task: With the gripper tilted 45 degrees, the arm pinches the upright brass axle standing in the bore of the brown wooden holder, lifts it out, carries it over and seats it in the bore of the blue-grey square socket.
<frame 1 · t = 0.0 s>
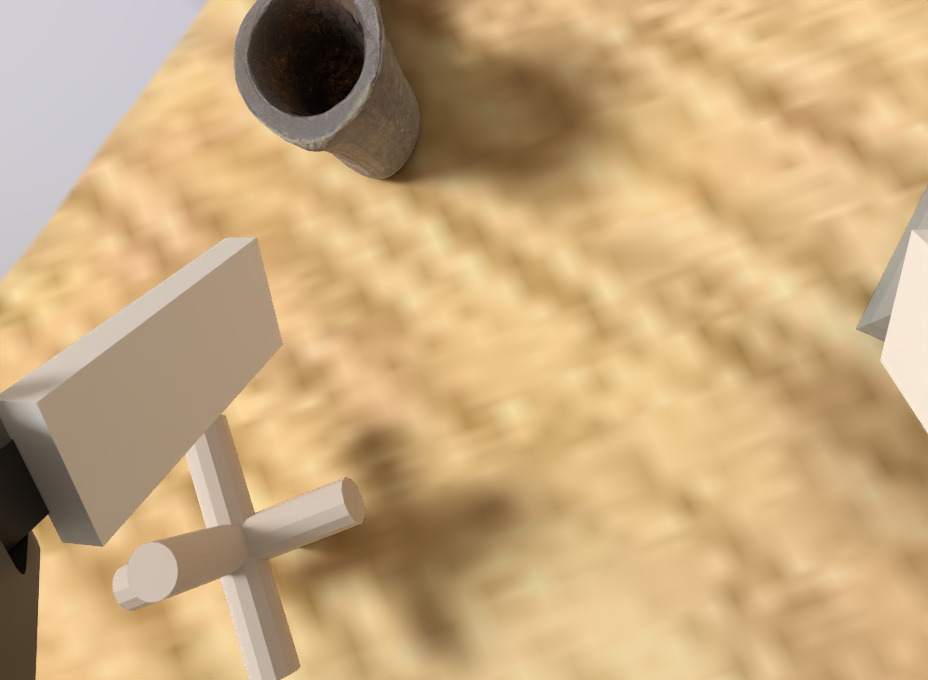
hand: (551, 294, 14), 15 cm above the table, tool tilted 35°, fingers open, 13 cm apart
pipe: (370, 91, 33), on the table
pipe connector: (299, 526, 31), on the table
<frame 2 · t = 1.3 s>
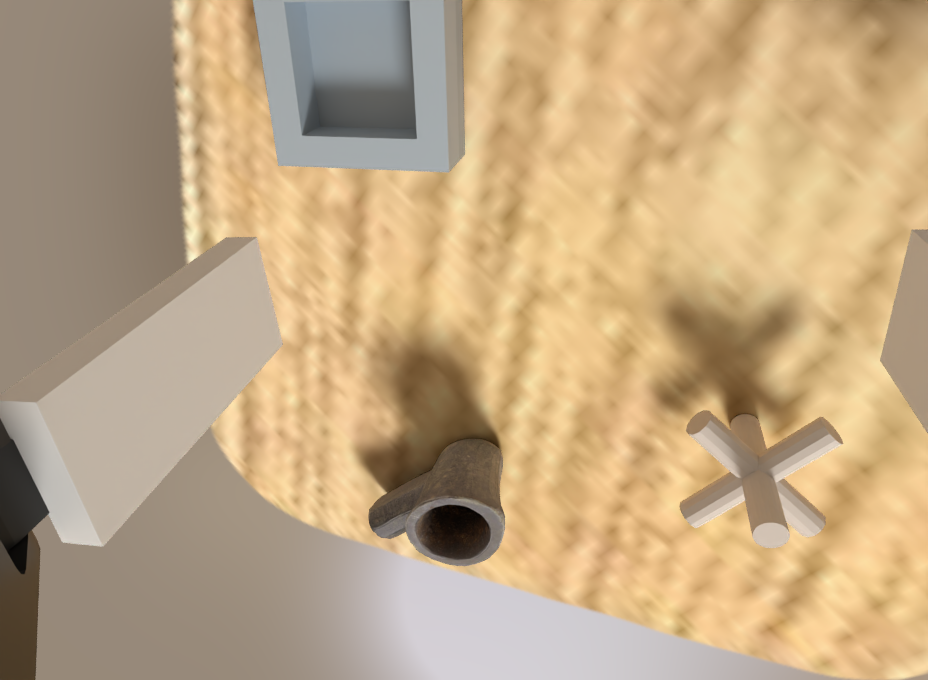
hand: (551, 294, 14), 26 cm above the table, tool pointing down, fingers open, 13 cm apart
pipe: (452, 469, 52), on the table
blue-grey square socket: (377, 62, 38), on the table
pipe connector: (744, 423, 44), on the table
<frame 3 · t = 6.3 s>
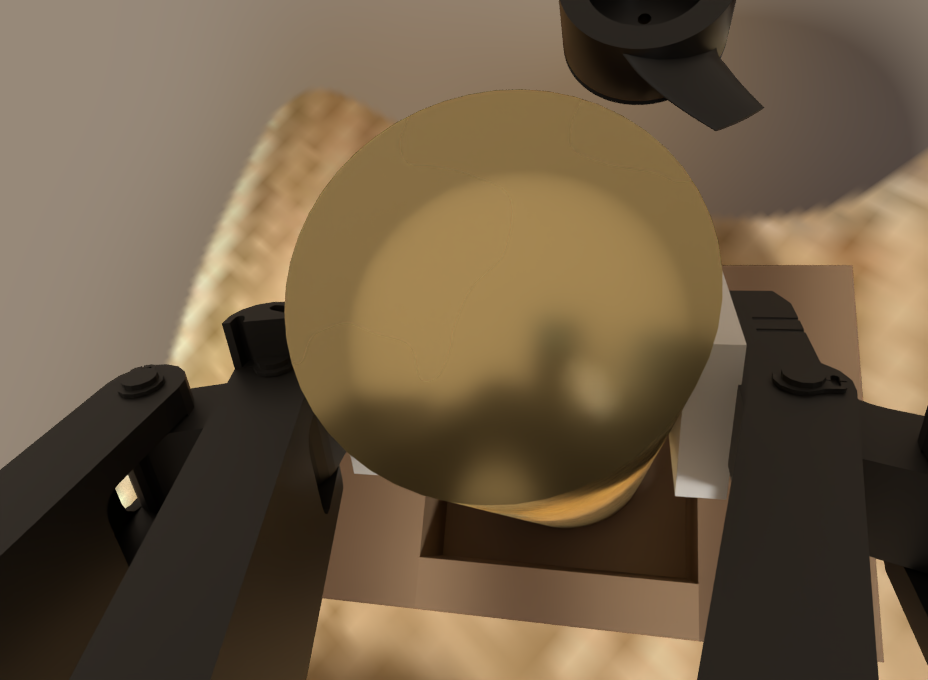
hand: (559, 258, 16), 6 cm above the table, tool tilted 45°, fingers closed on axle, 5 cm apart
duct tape: (643, 40, 25), on the table
axle: (564, 445, 19), point 1 cm above the table, touching brown wooden holder, gripper
brown wooden holder: (567, 451, 21), on the table
when the fingers open (7 cm above the table, at t = 11.2 s): axle stays where it is, resting on blue-grey square socket.
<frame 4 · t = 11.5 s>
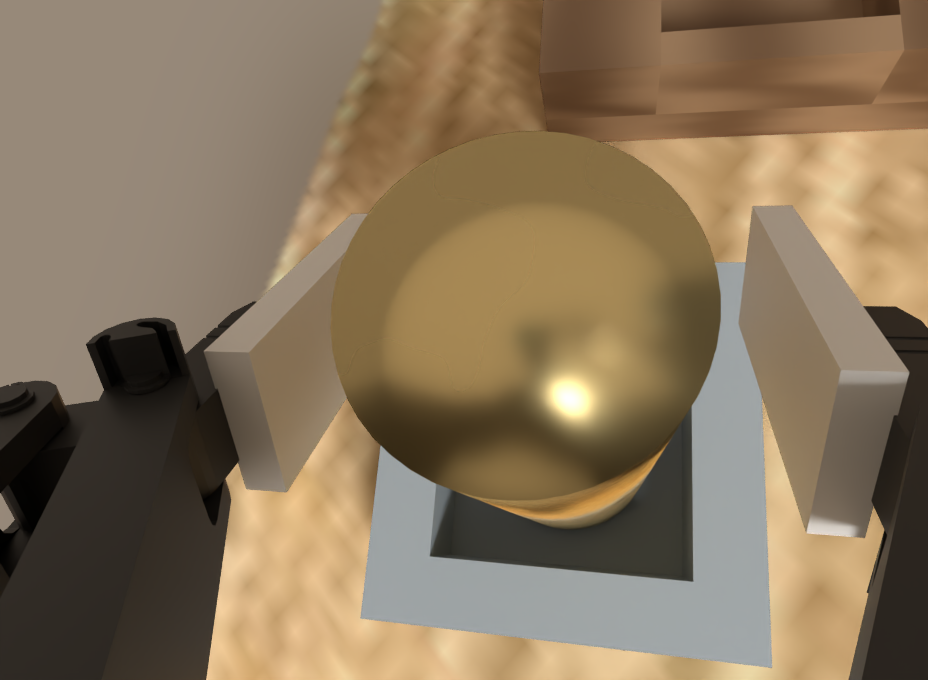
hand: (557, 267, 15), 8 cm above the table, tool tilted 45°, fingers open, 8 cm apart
blue-grey square socket: (569, 455, 22), on the table
axle: (567, 450, 20), point 2 cm above the table, touching blue-grey square socket
brown wooden holder: (746, 27, 25), on the table
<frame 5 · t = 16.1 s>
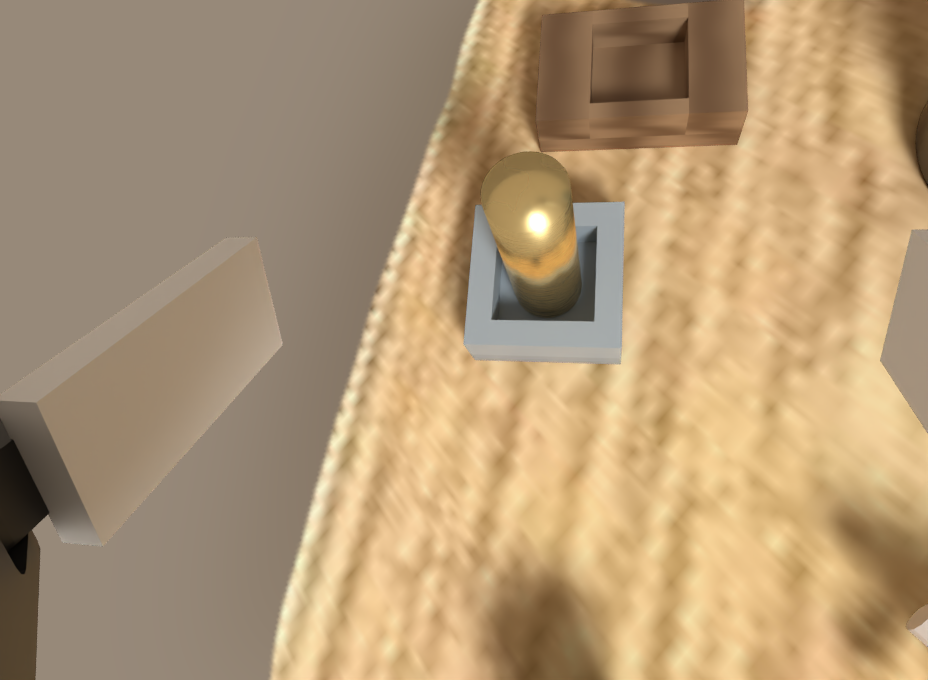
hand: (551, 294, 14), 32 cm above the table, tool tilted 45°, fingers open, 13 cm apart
blue-grey square socket: (549, 293, 48), on the table
axle: (548, 286, 46), point 2 cm above the table, touching blue-grey square socket
brown wooden holder: (636, 95, 51), on the table
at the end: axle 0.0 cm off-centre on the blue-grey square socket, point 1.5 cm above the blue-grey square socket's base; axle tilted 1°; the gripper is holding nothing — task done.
